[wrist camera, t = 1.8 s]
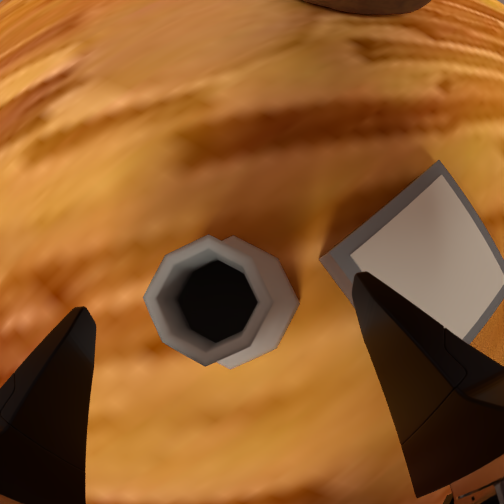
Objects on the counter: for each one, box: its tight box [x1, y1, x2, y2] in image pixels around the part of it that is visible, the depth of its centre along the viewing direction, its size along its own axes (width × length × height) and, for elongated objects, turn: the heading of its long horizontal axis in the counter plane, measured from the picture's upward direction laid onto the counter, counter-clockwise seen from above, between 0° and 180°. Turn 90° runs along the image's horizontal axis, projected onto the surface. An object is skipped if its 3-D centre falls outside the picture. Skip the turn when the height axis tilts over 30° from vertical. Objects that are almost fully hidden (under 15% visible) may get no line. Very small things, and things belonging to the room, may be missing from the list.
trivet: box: [319, 160, 504, 344], centre depth 16 cm, size 10×10×3 cm
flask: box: [143, 234, 300, 369], centre depth 13 cm, size 7×7×10 cm
